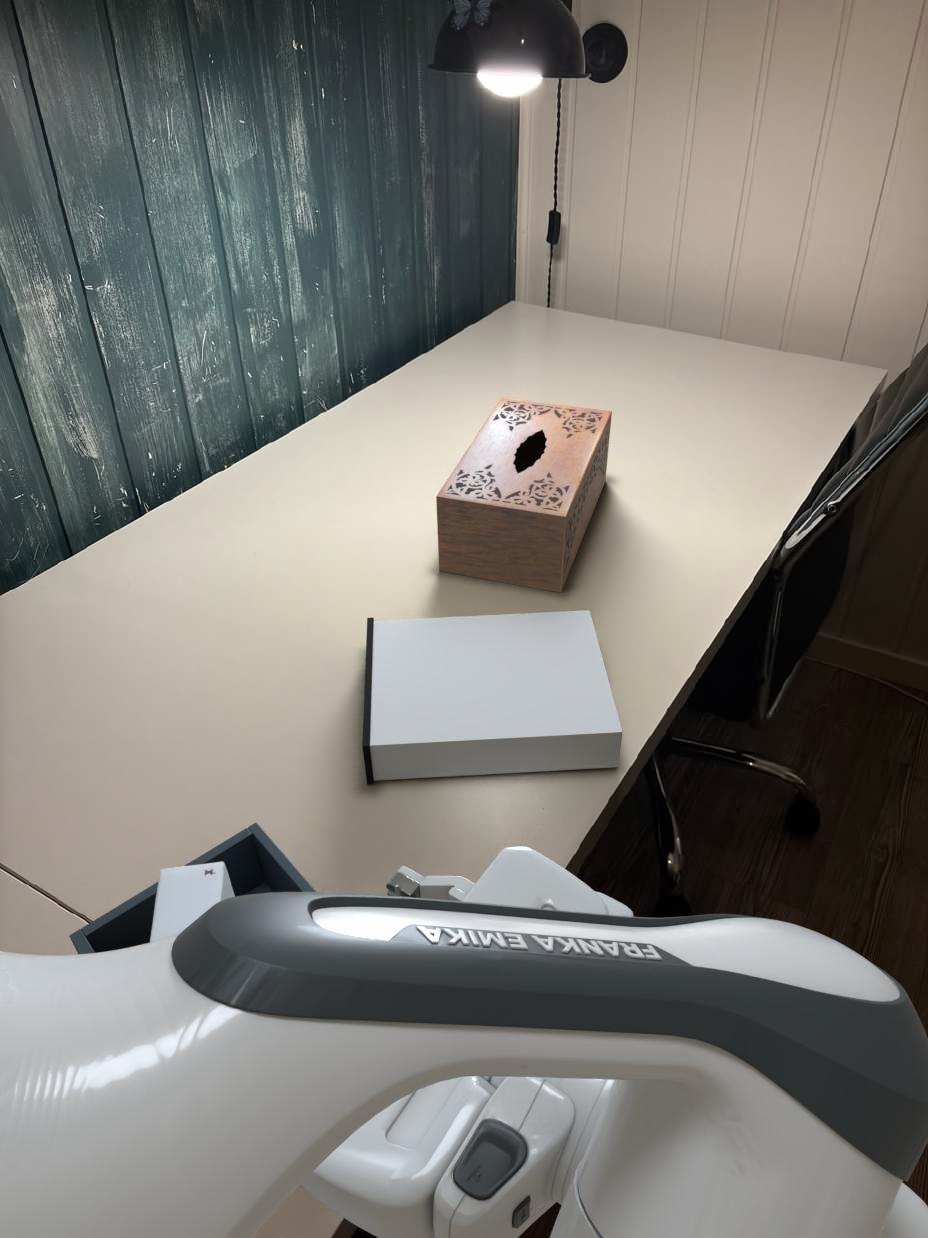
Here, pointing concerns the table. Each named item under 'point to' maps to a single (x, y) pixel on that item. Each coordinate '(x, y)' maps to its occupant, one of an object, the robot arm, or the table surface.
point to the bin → (244, 855)
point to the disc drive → (486, 696)
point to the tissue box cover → (524, 494)
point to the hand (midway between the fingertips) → (341, 942)
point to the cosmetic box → (187, 896)
